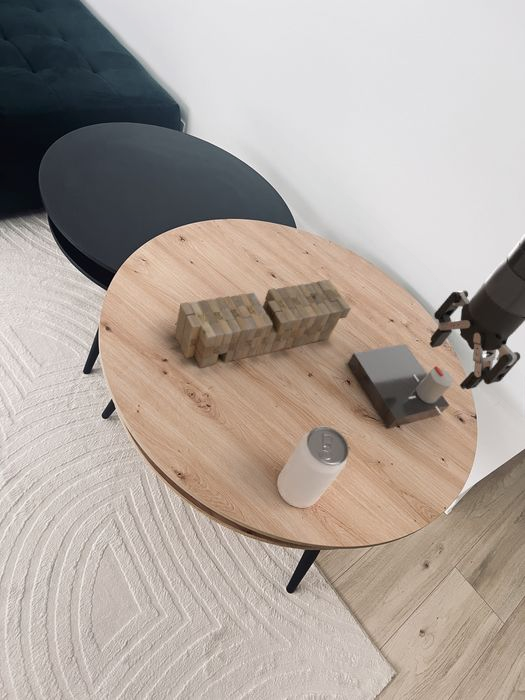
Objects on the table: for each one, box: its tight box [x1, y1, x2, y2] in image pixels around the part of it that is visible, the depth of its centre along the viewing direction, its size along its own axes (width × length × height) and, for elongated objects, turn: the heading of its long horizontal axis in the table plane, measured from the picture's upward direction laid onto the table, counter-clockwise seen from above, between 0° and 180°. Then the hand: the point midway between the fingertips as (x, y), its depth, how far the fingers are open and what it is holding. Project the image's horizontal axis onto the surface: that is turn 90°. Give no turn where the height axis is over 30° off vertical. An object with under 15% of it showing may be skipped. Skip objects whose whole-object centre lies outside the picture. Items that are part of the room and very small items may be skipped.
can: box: [276, 425, 350, 509], centre depth 72 cm, size 6×6×12 cm
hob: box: [347, 343, 450, 430], centre depth 93 cm, size 15×13×3 cm
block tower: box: [174, 279, 351, 369], centre depth 91 cm, size 8×8×29 cm
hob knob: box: [416, 365, 454, 404], centre depth 89 cm, size 4×4×5 cm
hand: (449, 365), depth 86 cm, fingers open, 8 cm apart
